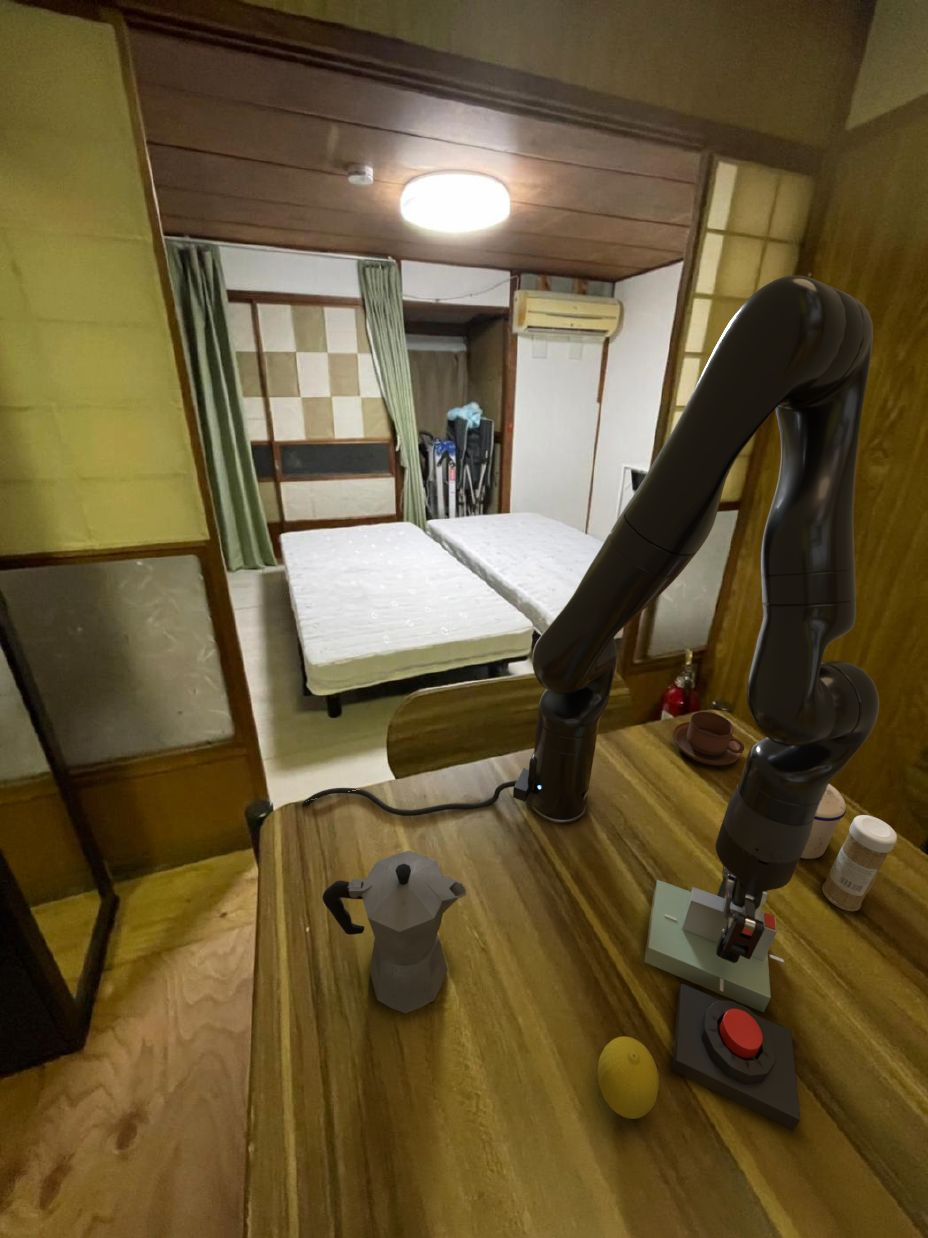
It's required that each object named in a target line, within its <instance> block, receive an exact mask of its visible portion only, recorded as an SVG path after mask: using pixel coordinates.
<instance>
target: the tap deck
mask: <svg viewBox="0 0 928 1238" xmlns="http://www.w3.org/2000/svg"><path fill="white" fill-rule="evenodd" d="M690 892H691V890H687V889H684V888H682V887H679V886H676V885H674V884H670V883H668V882H666V881H662V880H660V879H657V880H656V883H655V887H654V890H653V894H652V902H651V908H650V909H651V910H650V917H649V922H648V923H649V924H648V932H647V938H646V944H645V945H646V946H645V954H644V960H643V962H644V963H645V964H648V965H651V966H652V967H655V968H657V969H660V970H662V971H665V972H666V973H668V974H671V975H673V976H676V977H678V978H681V979H684V980H685V981H688V982H690V983H693V984H695V985H698V986H700V987H702V988H704V989H706V990H709V991H711V992H714V993H715V994H718V995H720V996H723V997H726V998H727V999H729V1000H731V1001H734V1002H736V1003H738V1004H741V1005H743V1006H745V1007H748V1008H751V1009H753V1010H755V1011H758V1012H761V1013H765V1011H766V1009H767V1006H768V1005H769V1003H770V1000H771V998H772V995H771V982H770V969H769V967H770V966H769V958H770V959H772V960H775V961H777V962H780V963H782V964H784V963H785V960H784V959H783V958H780V957H778V956H775V955H773V954H768V953H769V952H768V953H767V955H766V957H765V960H764V961H762V960H759V959H757V958H754V957H752V956H751V958H750V959H747V958H744V957H743V956H740V957H739V960H738V962H736V963H732V962H729V961H727V960H724V959H722V958H721V957H719V956H717V954H716V948H717V945H718V943H716V942H713V941H711V940H708V939H706V938H703V937H701V936H698V935H696V934H693V933H690V932H688V931H685V930H683V929H682V923H683V914H684V911H685V908H686V905H687V901H688V898H689V895H690Z"/></svg>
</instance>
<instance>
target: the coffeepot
mask: <svg viewBox="0 0 928 1238" xmlns="http://www.w3.org/2000/svg"><path fill="white" fill-rule="evenodd" d="M466 895H467V890H466V887H465V886H464V884H463V883H462V882H460V881H458V880H457V879H453V878H451V877H448V876H446V875H443V872H442V870H441V868H440V866H439V863H438V861H437V860H436V859H432V858H430V857H427V856H424V855H421V854H419V853H416V852H413V851H411V850H405V851H404V852H399V853H396V854H394V855H391V856H387V857H384V858H382V859H378V860H377V861H376V862H375V864H374V865H373V867H372V869H371V870H370V871H369V873H368V875H367V876H366V878H351V880H350V881H347V880H341V879H339V880H336V881H334V882H333V883H332V884H330V886H328V887H327V888H326V889H325V890H324V891H323V893H322V901H323V903H324V905H325V907H326V908H327V909H328V910H329V912H330V913H331V915H332V916H333V917H334V919H335V920H336V922H337V923H338V925H339V926H340V928H341V929H342V930H343V931H344V933H345V934H346V935H349V936H350V935H360V934H363V933H364V931H365V926H364V925H359V924H355V923H353V921H352V916H351V914H350V912H349V911H348V910H346V907H345V905H344V902H343V900H342V899H349V900H350V899H351V900H362V902H363V905H364V906H363V907H364V909H365V912H366V917H367V920H368V922H369V925H370V928H371V930H372V933H373V936H374V942H373V947H372V953H371V959H370V965H369V972H370V976H371V981H372V984H373V989H374V993H375V997H376V1000H377V1001H378V1002H380V1003H382V1004H384V1005H385V1006H387V1007H389V1008H390V1009H392V1010H394V1011H398V1012H400V1013H402V1014H405V1015H406V1014H409V1013H410V1012H413V1011H416V1010H420V1009H421V1008H424V1007H425V1006H427V1005H429V1004H430V1003H432V1002H434V1001H436V999H437V997H438V994H439V992H440V990H441V988H442V986H443V982H444V980H445V978H446V974H447V973H448V966H447V962H446V959H445V955H444V952H443V948H442V944H441V940H440V937H439V930H440V928H441V925H442V920H443V916H444V913H445V912H446V911H447V910H449V908H450V907H451V906H452V905H454V903H455V902H456V901H457V900H459V899H461V898H463V897H465V896H466Z"/></svg>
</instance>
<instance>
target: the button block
mask: <svg viewBox="0 0 928 1238" xmlns="http://www.w3.org/2000/svg"><path fill="white" fill-rule="evenodd" d="M730 1009H739V1010H742V1011H744V1012H746V1013H748V1014H749V1015H750V1016H751V1017H752V1018H753V1019H754V1020H755V1021H756V1022H757V1024H758V1025H759V1027H760V1029H761V1032H762V1036H763V1041H762V1045H761V1046H760V1048H759V1050H758V1052H757V1054H756V1055H755V1056H754V1057H752V1058H742V1057H739V1056H737V1055H736V1054H734V1053H733V1052H732V1051H731V1050H729V1048H728V1047H727V1046H726V1045H725V1043H724V1042H723V1040H722V1037H721V1034H720V1024H721V1021H722V1019H723V1017H724V1014H725V1013H726V1012H727V1011H728V1010H730ZM674 1028H675V1029H674V1037H673V1039H674V1040H673V1053H672V1063H671V1071H672V1072H674V1073H676V1074H678V1075H680V1076H682V1077H684V1078H686V1079H688V1080H690V1081H692V1082H694V1083H696V1084H698V1085H700V1086H703V1087H704V1088H706V1089H708V1090H711V1091H713V1093H717V1094H718V1095H721V1096H722V1097H725V1098H727V1099H729V1100H730V1101H733V1102H735V1103H737V1104H739V1105H741V1106H742V1107H745V1108H747V1109H750V1110H751V1111H753V1112H755V1113H757V1114H759V1115H761V1116H763V1117H766V1118H767V1119H770V1120H772V1121H774V1122H775V1123H777V1124H780V1125H782V1126H783V1127H786V1128H788V1129H790V1130H792V1131H794V1130H795V1129H796V1128H797V1126H798V1125H799V1123H800V1121H801V1112H800V1101H799V1092H798V1081H797V1073H796V1063H795V1053H794V1043H793V1033H792V1030H791V1029H789V1028H787V1027H784V1026H782V1025H781V1024H778V1023H775V1022H773V1021H770V1020H768V1019H766V1018H763V1017H761V1016H759V1015H756V1013H754V1012H753V1011H752V1010H751V1009H750V1007H748V1006H746V1005H744V1004H741V1003H739V1002H737V1001H734V1000H732V999H725V1000H722V999H719V998H717V997H714V996H713V995H710V994H707V993H706V992H703V991H700V990H698V989H696V988H694V987H691V986H689V985H686V984H684V983H681V984H680V987H679V989H678V993H677V998H676V1013H675V1026H674Z"/></svg>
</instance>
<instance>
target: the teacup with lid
mask: <svg viewBox="0 0 928 1238" xmlns="http://www.w3.org/2000/svg"><path fill="white" fill-rule="evenodd" d="M846 805H847V804H846V801H845V799H844V797H843V795H842V794H841V793H840V792H839V790H837V789H836V787H834V786H833V785H831V784H830V783H829V784H828V785H827V788H826V791H825V793H824V796H823V798H822V801H821V803H820V805H819V808H818V810H817V812H816V814H815V817H814V820H813V825H812V830H811V834H810V837H809V839H808V841H807V844H806V846H805V848H804V851H803V853H802V855H801V857H800V859H805V860H806V859H807V860H811V859H812V860H813V859H817V858H820V857H822V856H823V855H824V854H825V852H826V850H827V848H828V846H829V844H830V842H831V840H832V837H833V835H834V834H835V831H836V829H837V828H838V825H839V822H840V820H841V819H842V818H844V816H845V815H846V813H847V806H846Z"/></svg>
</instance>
